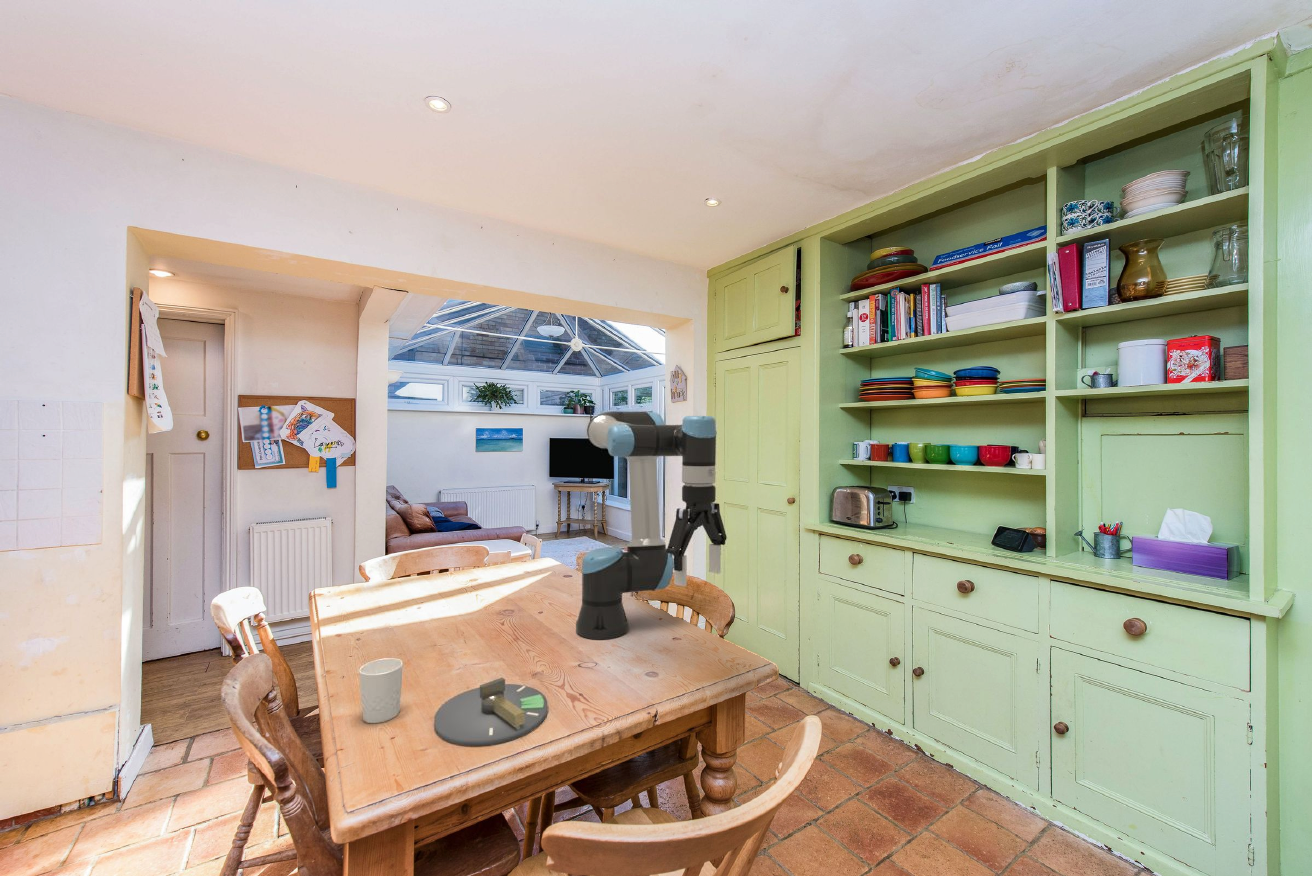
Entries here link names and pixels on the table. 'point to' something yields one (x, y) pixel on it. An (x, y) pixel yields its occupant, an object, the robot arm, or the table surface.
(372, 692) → the white cup
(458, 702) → the dial
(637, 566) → the robot arm
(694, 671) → the table surface
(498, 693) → the needle
